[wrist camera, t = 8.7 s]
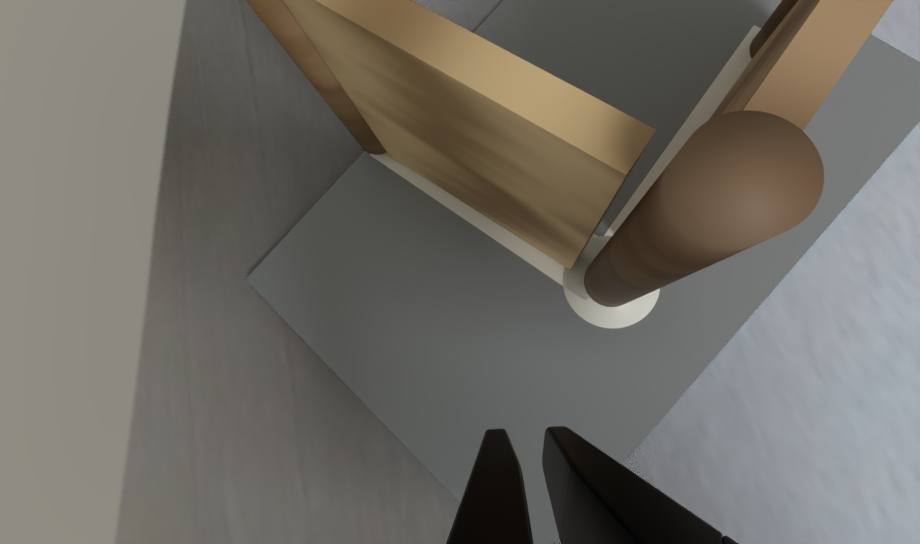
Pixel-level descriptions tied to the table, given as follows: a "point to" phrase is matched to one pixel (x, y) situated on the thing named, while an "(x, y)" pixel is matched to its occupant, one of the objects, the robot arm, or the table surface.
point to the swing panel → (465, 115)
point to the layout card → (542, 278)
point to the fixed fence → (740, 156)
